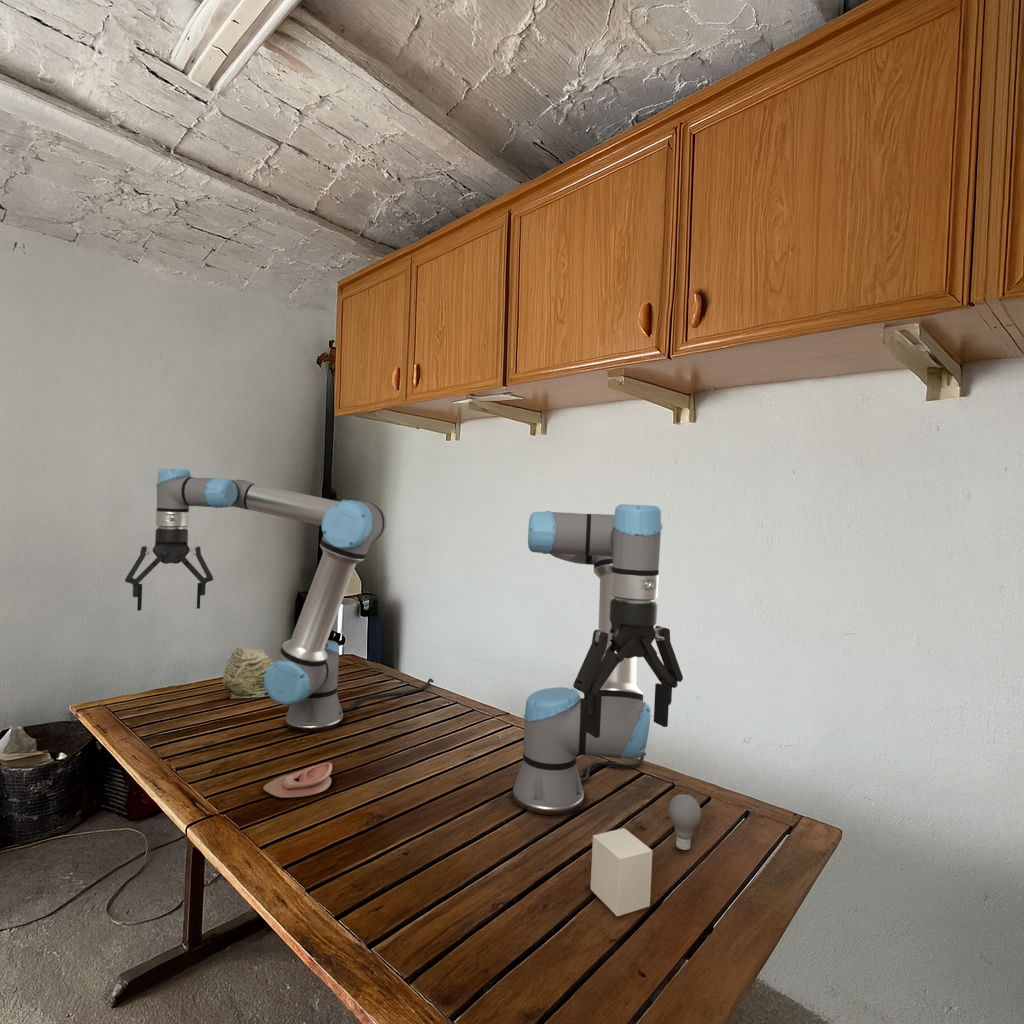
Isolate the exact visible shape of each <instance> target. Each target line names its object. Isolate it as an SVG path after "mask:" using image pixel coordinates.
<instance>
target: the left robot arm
mask: <svg viewBox="0 0 1024 1024" xmlns="http://www.w3.org/2000/svg"><path fill="white" fill-rule="evenodd" d="M190 507H202V508H203V507H204V508H213V509H214V508H215V509H222V508H238V509H242V510H248V511H253V512H258V513H262V514H267V515H272V516H276V517H279V518H283V519H290V520H294V521H298V522H303V523H307V524H312V525H316V526H321V532H322V538H321V541H320V543H319V546H320V549H321V550H322V555H321V558H320V560H319V563H318V566H317V569H316V572H315V574H314V577H313V579H312V582H311V585H310V588H309V590H308V593H307V596H306V598H305V601H304V604H303V606H302V609H301V612H300V613H299V614H300V615H299V617H298V619H297V622H296V625H295V627H294V629H293V630H294V631H293V632H292V636H291V639H288V640H286V641H284V642H283V643H282V646H281V648H280V650H279V653H278V656H277V658H276V661H275V662H274V663H273V664H272V665H271V666H270V667H269V668H268V670H267V671H266V673H265V677H264V686H265V689H266V690H267V692H268V695H269V696H268V697H270V699H272V700H273V702H275V703H277V704H279V705H282V706H289V708H288V711H287V713H286V715H285V726H286V728H287V729H289V730H291V731H294V732H295V731H296V732H301V733H316V732H325V731H329V730H332V729H335V728H337V727H339V726H340V725H342V723H343V722H344V713H343V711H344V712H345V711H351V710H353V709H354V708H355V707H356V705H357V704H359V703H360V702H363V701H368V700H370V699H371V700H372V699H377V698H383V697H392V696H400V695H406V694H407V695H408V694H412V693H416V692H419V691H423V690H425V689H427V688H428V687H429V685H430V684H431V683H434V681H435V680H434V679H432V678H431V677H430V678H429V679H428V680H427V682H426V684H425V685H423V686H421V687H417V688H413V689H409V690H404V691H393V692H384V693H377V694H372V695H367V696H363V697H360V698H357V699H356V700H355V701H354V702H353V703H352V704H351V705H350V706H341V702H340V699H339V695H338V682H339V662H340V661H339V660H340V645H339V643H338V642H337V641H335V640H330V639H329V637H330V635H331V632H332V629H333V627H334V624H335V621H336V619H337V616H338V613H339V610H340V609H341V606H342V602H343V600H344V597H345V595H346V591H347V589H348V586H349V584H350V581H351V578H352V576H353V574H354V570H355V568H356V566H357V564H358V563H360V562H363V561H364V560H365V559H366V556H367V553H368V551H369V548H370V545H371V544H372V543H374V542H376V541H378V540H379V539H380V538H381V537H382V536H383V534H384V533H385V531H386V527H387V518H386V514H385V512H384V510H383V509H382V507H380V506H379V505H378V504H376V503H374V502H372V501H369V500H354V499H347V498H344V499H342V500H340V501H338V500H333V499H329V498H324V497H321V496H320V497H319V496H315V495H311V494H306V493H300V492H296V491H291V490H287V489H282V488H278V487H272V486H268V485H264V484H258V483H254V482H251V481H248V480H245V479H229V478H223V477H193V476H191V472H190V471H189V469H181V468H180V469H179V468H161V469H159V470H158V472H157V483H156V511H155V526H156V527H157V528H156V529H155V533H154V534H155V536H154V538H155V539H154V546H153V547H152V546H147V545H142V546H141V548H140V551H139V552H140V553H139V556H138V557H137V559H136V561H135V562H134V564H133V566H132V567H131V569H130V571H129V572H128V574H127V575H126V577H125V579H124V582H125V583H129V584H131V585H132V598H137V608H136V609H137V611H139V612H140V611H142V606H143V605H142V603H143V583H141V582H142V581H143V580H144V578H146V577H147V576H148V574H150V573H151V572H152V571H153V570H154V568H156V567H157V566H158V565H159V564H160V563H162V564H165V565H168V564H173V565H175V564H176V565H178V564H180V563H182V564H183V565H184V566H185V567H186V568H187V569H188V571H189V572H191V574H193V576H194V577H195V579H197V580H198V582H197V588H196V609H197V610H200V609H201V597H202V596H205V595H206V585H207V583H209V582H213V580H214V576H213V573H211V571H210V569H209V567H208V565H207V562H206V561H205V559H204V557H203V555H202V549H201V546H200V545H196V546H192V547H189V530H188V529H187V528H188V527H189V519H190V517H189V514H190ZM190 552H191V554H192V556H195V557H196V559H197V561H198V563H199V564H200V566H201V569H202V571H203V572H204V574H205V577H204V576H203V575H202V574H201V572H200V571H198V569H197V568H196V567H195V566H194V565H193V564H192V563H191V562H190V561H189V559H187V555H188V554H189V553H190ZM151 553H153V554H154V555H155V559H154V560H153V561H152V562H150V564H149V565H148V566H147V567H146V568H145V569H144V570H143V571H142V572H140V573H139V575H138V576H137V577H135V578H134V576H135V574H136V572H137V571H138V569H139V567H140V566H141V564H142V563H143V562H144V560H145V558H146V556H148V555H150V554H151Z"/></svg>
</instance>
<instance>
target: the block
mask: <svg viewBox="0 0 1024 1024" xmlns="http://www.w3.org/2000/svg"><path fill="white" fill-rule="evenodd" d="M591 847H592V848H591V865H590V867H591V870H590V871H591V872H590V887H589V888H590V890H591V891H592V893H593V894H594V895H596V897H598V899H600V901H601V902H602V903H603V904H604V905H605V906H606V907H607V909H609V910H610V911H611V912H612V913H613V914H614V915H615V916H616V917H620V916H624V915H627V914H630V913H633V912H636V911H640V910H642V909H646V908H648V907H650V906H651V893H652V891H651V890H652V869H653V849H651V848H650V847H649V846H648V845H646V844H645V843H644V842H642V841H641V840H640V839H639V838H637V837H636V836H635V835H634V834H632V833H631V832H630V831H629V830H628V829H626V828H625V827H623V828H618V829H614V830H610V831H605V832H602V833H597V834H593V835H592V845H591Z"/></svg>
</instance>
